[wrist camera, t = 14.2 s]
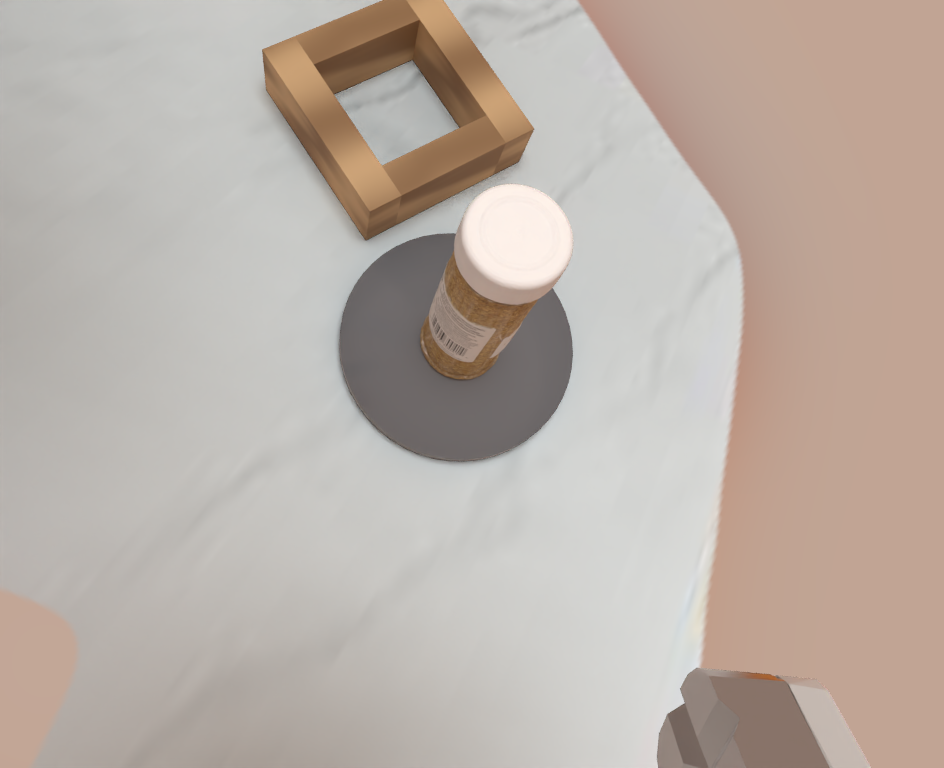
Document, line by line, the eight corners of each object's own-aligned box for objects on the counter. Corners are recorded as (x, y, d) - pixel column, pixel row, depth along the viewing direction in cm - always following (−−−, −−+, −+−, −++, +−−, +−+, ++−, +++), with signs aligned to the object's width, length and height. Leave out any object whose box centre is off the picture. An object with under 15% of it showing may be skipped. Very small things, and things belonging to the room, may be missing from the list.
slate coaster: (294, 306, 42) (293, 300, 41) (486, 205, 46) (489, 197, 45) (422, 507, 41) (425, 505, 40) (610, 385, 45) (616, 380, 44)
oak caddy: (266, 89, 45) (262, 49, 42) (422, 23, 49) (429, -19, 45) (365, 240, 44) (369, 211, 41) (518, 161, 47) (534, 128, 44)
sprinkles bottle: (512, 363, 43) (596, 264, 30) (438, 394, 41) (493, 304, 29) (477, 291, 43) (545, 165, 31) (404, 319, 42) (442, 199, 29)
